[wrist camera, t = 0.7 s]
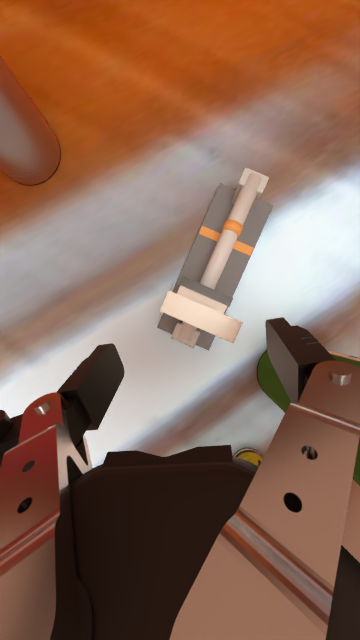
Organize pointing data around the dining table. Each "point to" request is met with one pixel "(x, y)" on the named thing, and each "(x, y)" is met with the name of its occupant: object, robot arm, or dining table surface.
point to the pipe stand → (222, 248)
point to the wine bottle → (279, 396)
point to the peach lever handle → (202, 309)
